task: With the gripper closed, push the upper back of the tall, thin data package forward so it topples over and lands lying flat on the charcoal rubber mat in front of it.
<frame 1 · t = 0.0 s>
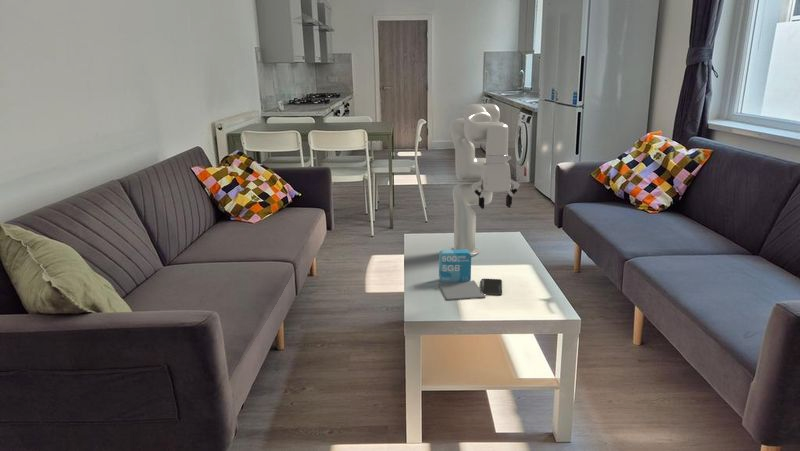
hand: (495, 207, 195), 31 cm above the table, tool pointing down, fingers open, 9 cm apart
data package: (454, 281, 212), on the table
phone: (491, 289, 204), on the table
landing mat: (461, 290, 202), on the table
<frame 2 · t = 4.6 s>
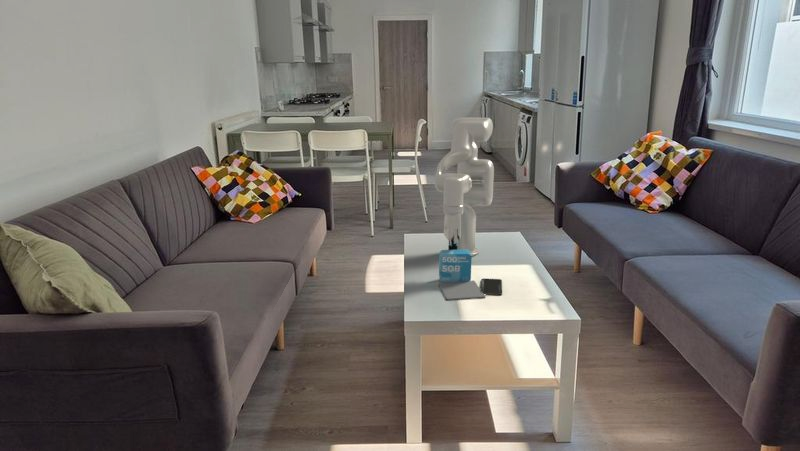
hand: (452, 254, 213), 9 cm above the table, tool pointing down, fingers closed
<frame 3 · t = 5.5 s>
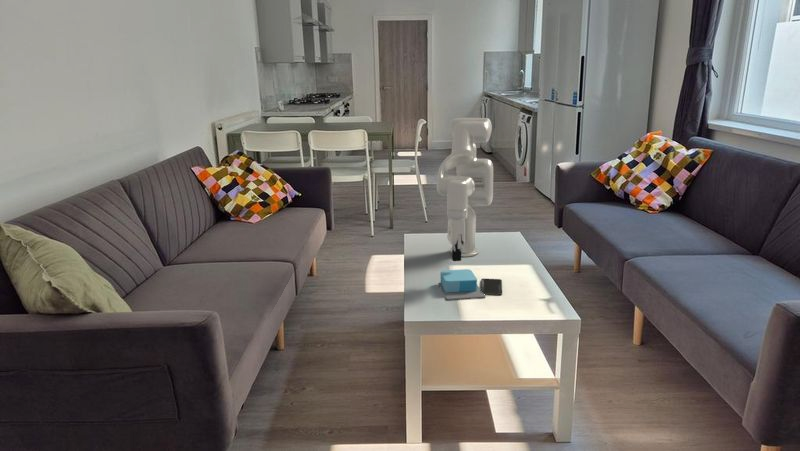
hand: (456, 260, 207), 9 cm above the table, tool pointing down, fingers closed
data package: (455, 274, 210), point 3 cm above the table, touching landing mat
everything else where it was.
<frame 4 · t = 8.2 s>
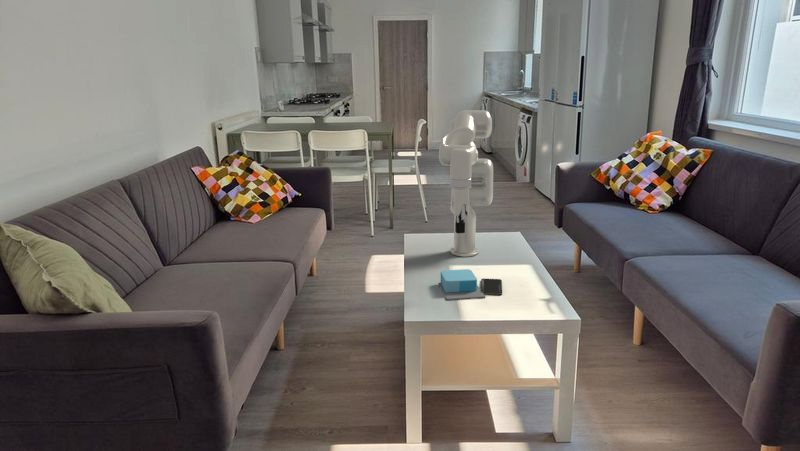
hand: (460, 232, 199), 22 cm above the table, tool pointing down, fingers closed
nothing on the table moved.
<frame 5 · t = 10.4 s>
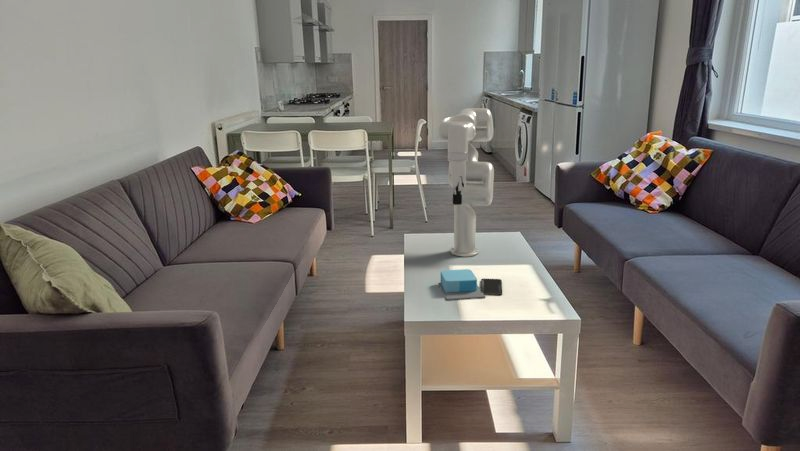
hand: (457, 204, 211), 29 cm above the table, tool pointing down, fingers closed
nothing on the table moved.
at the end: data package tilted 90°; data package touching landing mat; data package inside the target area (6.0 cm from its centre), point 2.9 cm above the table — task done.
